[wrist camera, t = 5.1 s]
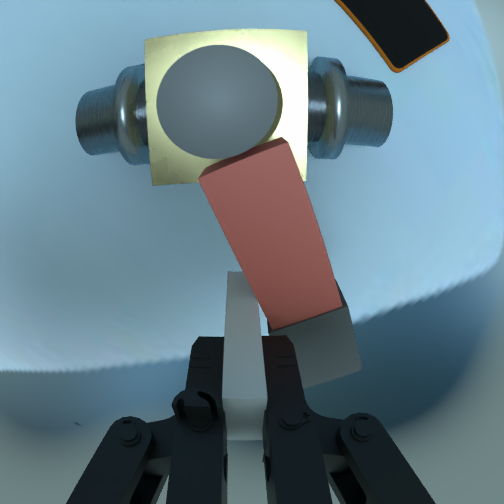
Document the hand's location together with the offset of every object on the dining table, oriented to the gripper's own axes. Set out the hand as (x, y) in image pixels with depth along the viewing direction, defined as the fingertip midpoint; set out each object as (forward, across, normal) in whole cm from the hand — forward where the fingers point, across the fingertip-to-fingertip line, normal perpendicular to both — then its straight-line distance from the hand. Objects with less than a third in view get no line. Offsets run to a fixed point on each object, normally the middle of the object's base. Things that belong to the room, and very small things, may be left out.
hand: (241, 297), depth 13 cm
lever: (+2, +2, +3) cm, 4 cm away
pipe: (+9, -1, +8) cm, 12 cm away
